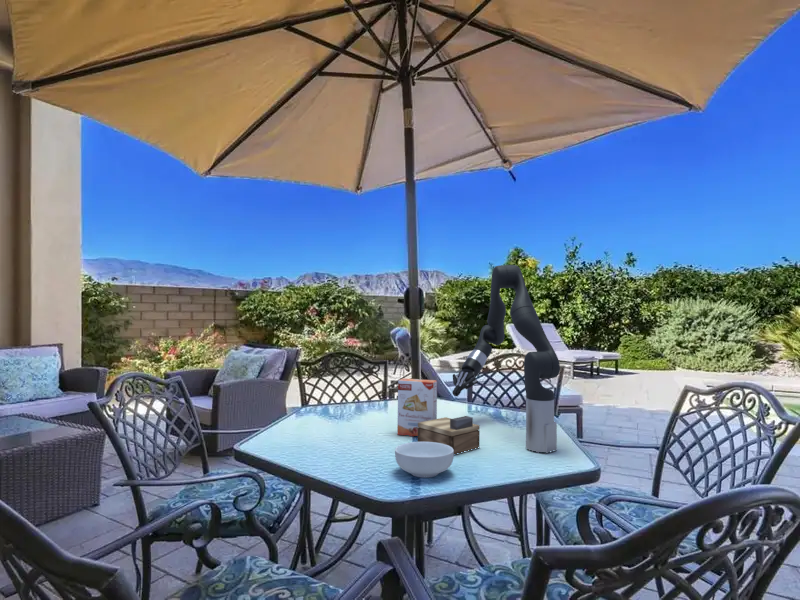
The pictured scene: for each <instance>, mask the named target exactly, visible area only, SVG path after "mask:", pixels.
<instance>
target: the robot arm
mask: <svg viewBox="0 0 800 600" xmlns="http://www.w3.org/2000/svg"><path fill="white" fill-rule="evenodd" d="M490 284H491V285H490V302H489V303H490V304H489V310H488V315H487V317H486V319H487V320H486V323H487V324H485V325H483V326H482V328H481V330H480V334H479V337H478V340H477V343H476V345H475V346H474V348H473V350H471V352H470V353H469V355H467V357H466V359H465V361H464V363H463V364H462V366H461V370H460V371H458V373H457V374H455V373H453V374H452V382H453V383H452V384H453V386H455V387H454V389H453V390H452V395H453V396H454V397H459V396H460V394H461V393H462V391H463V390H468V389H469V388H471V387H473V386H475V385H476V384H477V383H479V380H478V378H477V377H478V375H479V374H480V373H481V370H482V369H483V367H484V366H485V364H486V363H487V362H486V361H487V360H488V358H489V356H490V355H491V354H492V351H493V348H492V346H491V344H492V345H494V346H500V345H501V344H503V342H504V340H505V327H504V324H505V322H504V321H505V318H506V314H507V308H506V303H505V302H504V301H503V299H502V297H501V295H500V292H501V291H500V290H501V289H513V290H514V292H515V296H514V300H513V302H512V304H511V307H510V310H509V314H510V319H511V321H512V324H513V326H514V328H515V330H516V331H517V332H518V334H519V335H521V336H522V337H523V338H524V339H525V340H527V341H528V342H529V343H530V344H531V345H532V346H533V348H534V349H535V351H528V352H526V354H525V356H524V359H523V375H524V377H523V378H524V390H525V449H526V448H527V449H529V450H528V451H530V450H532V451H531V452H533V451H536V452H535V453H539V452H546V453H548V452H550V451H553V450H556V449H558V448H557V446H558V441H557V440H558V438H557V437H558V436H557V435H558V434H557V431H558V429H557V428H558V425H557V424H558V422H557V421H555V392H554V390H552V389H550V388H547V387H545V386H544V385H542V383H541V380H542V379H555V378H557V377H558V376H559V375H560V371H561V366H560V365H561V364H560V360H559V357H558V355H557V353H556V351H555V350H554V348H553V346H552V344H551V343H550V340H549V339H548V337H547V335H546V333H545V331H544V327H543V325H542V324H541V321H540V319H539V315H538V313H537V311H536V308H535V307H534V304H533V301H532V300H531V299H532V298H531V297H530V294H529V292H528V289H527V286H526V282H525V279H524V275H523V273H522V270H521V268H520V267H519V266H518V265H517V264H503V265H502V264H501V265H496V266H494V267H493V269H492V272H491V280H490ZM527 449H526V450H527ZM556 451H557V450H556ZM553 452H554V451H553ZM546 453H545V454H546ZM550 453H551V452H550ZM548 454H549V453H548Z"/></svg>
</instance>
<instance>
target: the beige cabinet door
mask: <svg viewBox="0 0 800 600" xmlns="http://www.w3.org/2000/svg"><path fill="white" fill-rule="evenodd" d="M418 427H419V428H423V429H427V430H430V431H434V432H438V433H441V434H445V435H448V436H455V435H459V434H464V433H468V432H472V431H476V430H479V431H481V430H480V425H479V424H474V417H472V416H468V415H464V416H460V417H459V416H458V417H453V418H450V417H448V416H447V417H439V418H437V419H434V420H429V421H424V422H419V423H418Z"/></svg>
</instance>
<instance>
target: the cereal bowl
mask: <svg viewBox="0 0 800 600" xmlns="http://www.w3.org/2000/svg"><path fill="white" fill-rule="evenodd" d="M394 457H395V461H396V463H397V465H398V466H399V468H400V469H401V470H403V471H405V472H406V473H409V474H410V475H412V476H414V477H417V478H427V479H428V478H433V477H436V476H438V475H439V474H440V473H443V472H445V471H447V470H448V469H449V468H450V467H451V465H452V463H453V460H454V457H455V455H454V450H453V448H452V447H450V446H448V445H445V444H442V443H436V442H418V441H412V442H406V443H402V444H400V445H397V446H396V447H395V449H394Z"/></svg>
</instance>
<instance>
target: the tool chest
mask: <svg viewBox="0 0 800 600" xmlns="http://www.w3.org/2000/svg"><path fill="white" fill-rule="evenodd" d="M480 431H481V430H476V431H472V432H468V433H464V434H459V435H455V436H448V435H445V434H441V433H438V432H434V431H430V430H427V429H423V428H418V437H417V442H436V443H442V444H445V445H448V446H450V447H452V448H453V450H454V454H457V453H461V452H464V451H468V450H471V449H475V448H478V447H479V448H480V433H481V432H480ZM479 448H478V449H479ZM475 450H476V449H475ZM471 451H472V450H471ZM468 452H469V451H468ZM464 453H465V452H464ZM461 454H462V453H461ZM457 455H458V454H457Z"/></svg>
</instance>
